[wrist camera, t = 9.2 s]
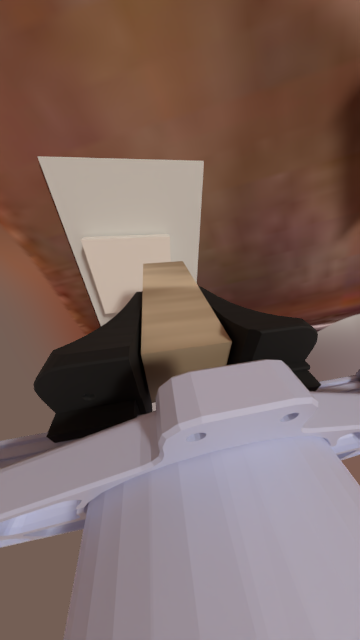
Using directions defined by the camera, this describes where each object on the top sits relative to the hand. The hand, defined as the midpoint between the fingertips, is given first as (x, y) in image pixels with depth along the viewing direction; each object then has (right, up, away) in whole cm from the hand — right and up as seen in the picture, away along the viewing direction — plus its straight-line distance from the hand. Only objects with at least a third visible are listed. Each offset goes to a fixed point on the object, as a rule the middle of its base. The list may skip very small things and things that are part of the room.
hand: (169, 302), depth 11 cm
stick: (-1, +2, +2) cm, 3 cm away
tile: (0, +4, +7) cm, 8 cm away
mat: (-4, +5, +7) cm, 10 cm away
